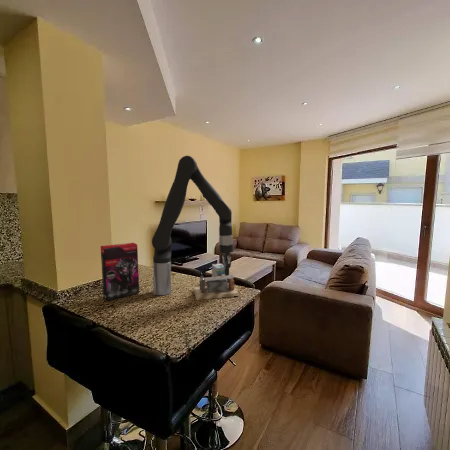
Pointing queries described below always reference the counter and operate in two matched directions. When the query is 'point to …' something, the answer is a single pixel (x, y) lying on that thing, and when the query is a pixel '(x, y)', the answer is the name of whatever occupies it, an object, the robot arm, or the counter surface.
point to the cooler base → (213, 295)
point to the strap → (218, 277)
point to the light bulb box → (218, 270)
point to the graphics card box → (119, 270)
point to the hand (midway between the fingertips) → (227, 274)
